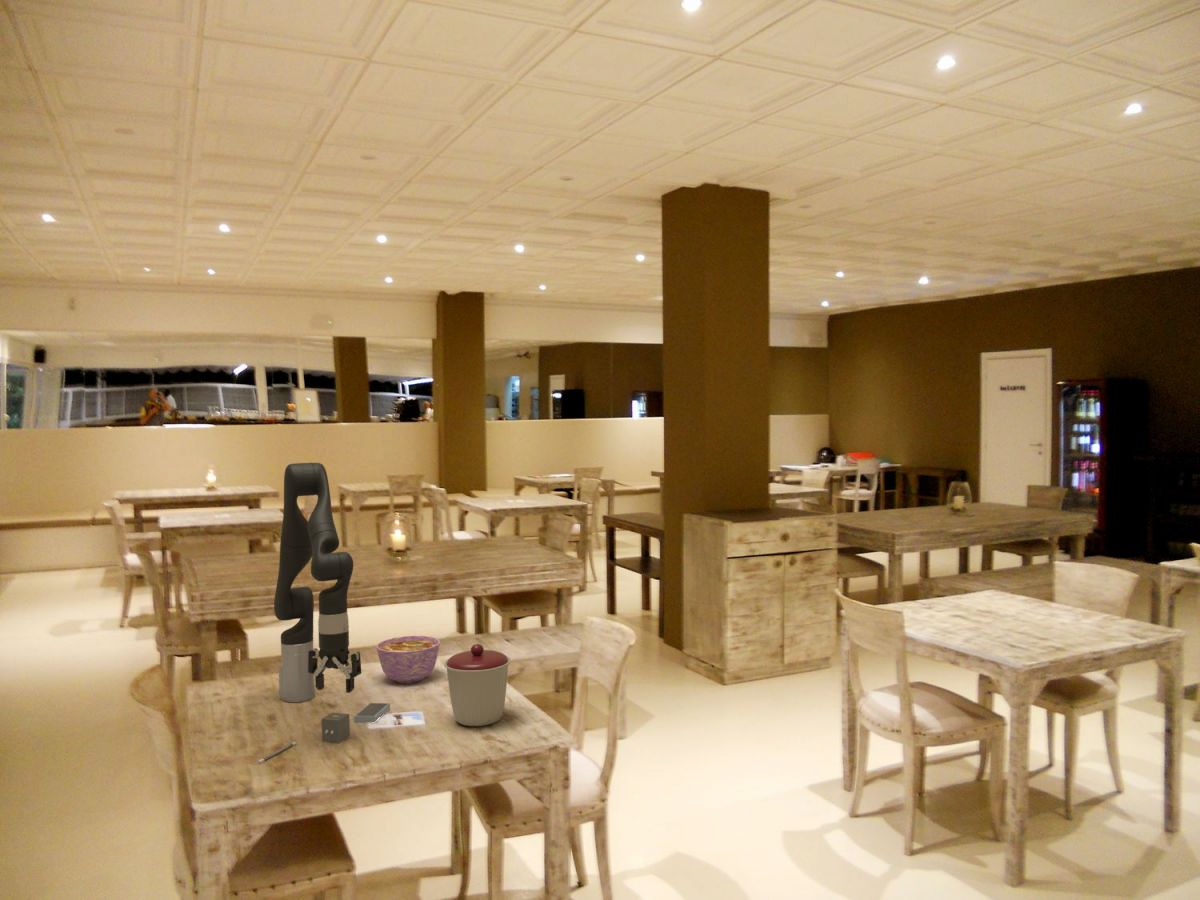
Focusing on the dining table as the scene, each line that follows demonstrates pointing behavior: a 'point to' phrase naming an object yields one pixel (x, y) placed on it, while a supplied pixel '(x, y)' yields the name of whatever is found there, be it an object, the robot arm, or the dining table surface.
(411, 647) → the bowl of food
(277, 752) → the cable
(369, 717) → the phone
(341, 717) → the charger
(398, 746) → the dining table surface
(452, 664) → the canister
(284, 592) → the robot arm
